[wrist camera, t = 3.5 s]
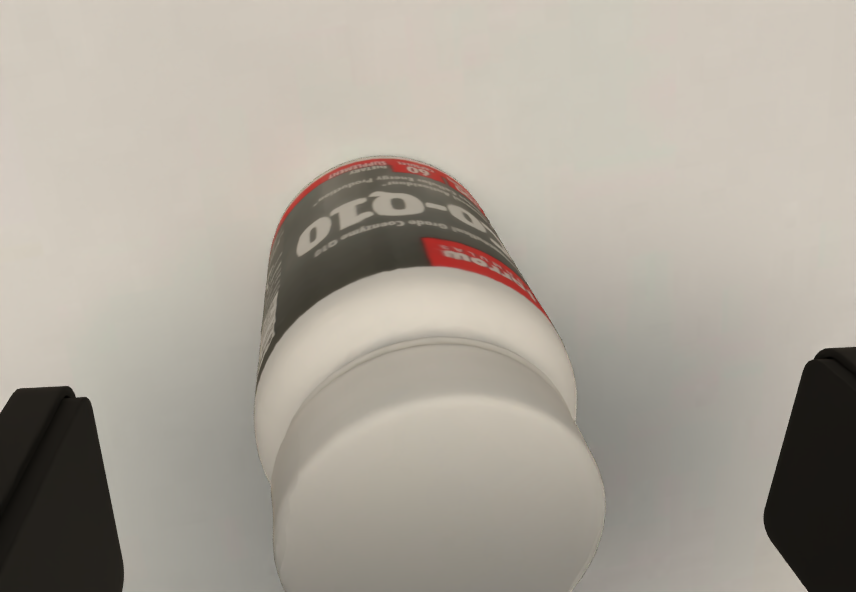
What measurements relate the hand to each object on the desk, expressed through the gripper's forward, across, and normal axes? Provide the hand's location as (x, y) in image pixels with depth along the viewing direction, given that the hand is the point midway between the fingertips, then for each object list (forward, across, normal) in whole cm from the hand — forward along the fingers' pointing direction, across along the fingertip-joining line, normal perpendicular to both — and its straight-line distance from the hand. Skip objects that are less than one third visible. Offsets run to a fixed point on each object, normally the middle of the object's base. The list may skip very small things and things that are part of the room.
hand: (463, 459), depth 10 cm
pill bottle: (+7, 0, 0) cm, 7 cm away
